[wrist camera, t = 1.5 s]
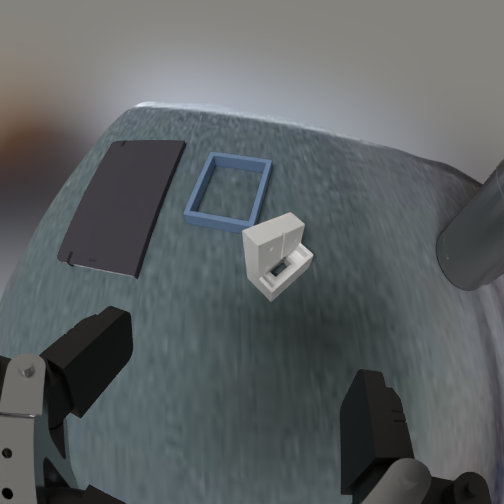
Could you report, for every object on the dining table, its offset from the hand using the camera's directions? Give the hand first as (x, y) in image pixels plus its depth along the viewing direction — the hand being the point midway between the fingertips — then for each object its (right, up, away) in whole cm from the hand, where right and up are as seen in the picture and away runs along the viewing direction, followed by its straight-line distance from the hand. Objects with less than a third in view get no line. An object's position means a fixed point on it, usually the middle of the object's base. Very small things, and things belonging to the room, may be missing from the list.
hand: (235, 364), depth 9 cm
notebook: (-17, +11, +29) cm, 35 cm away
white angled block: (+3, +1, +23) cm, 23 cm away
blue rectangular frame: (-2, +11, +27) cm, 29 cm away
